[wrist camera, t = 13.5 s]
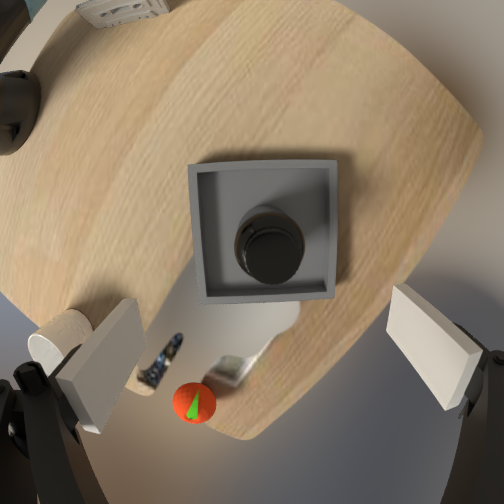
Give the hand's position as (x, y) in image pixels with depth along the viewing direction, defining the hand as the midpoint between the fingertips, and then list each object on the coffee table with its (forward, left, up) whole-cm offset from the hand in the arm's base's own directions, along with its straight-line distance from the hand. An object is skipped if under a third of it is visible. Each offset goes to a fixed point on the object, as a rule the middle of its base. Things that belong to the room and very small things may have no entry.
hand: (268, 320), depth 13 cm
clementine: (+26, -11, -23) cm, 36 cm away
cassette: (-33, -17, -23) cm, 44 cm away
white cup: (+15, -31, -23) cm, 41 cm away
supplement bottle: (0, +1, -22) cm, 22 cm away
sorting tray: (0, +1, -23) cm, 23 cm away
